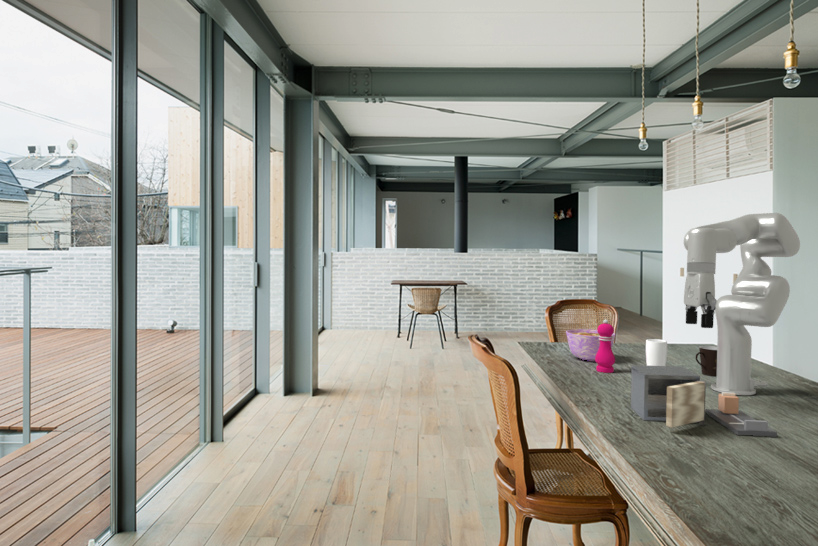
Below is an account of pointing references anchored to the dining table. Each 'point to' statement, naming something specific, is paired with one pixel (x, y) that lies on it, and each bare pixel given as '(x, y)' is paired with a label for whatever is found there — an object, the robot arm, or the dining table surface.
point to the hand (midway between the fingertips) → (698, 325)
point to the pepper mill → (605, 348)
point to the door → (686, 404)
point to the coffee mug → (708, 360)
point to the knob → (728, 403)
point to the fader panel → (742, 423)
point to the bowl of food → (585, 343)
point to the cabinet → (655, 388)
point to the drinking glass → (656, 352)
